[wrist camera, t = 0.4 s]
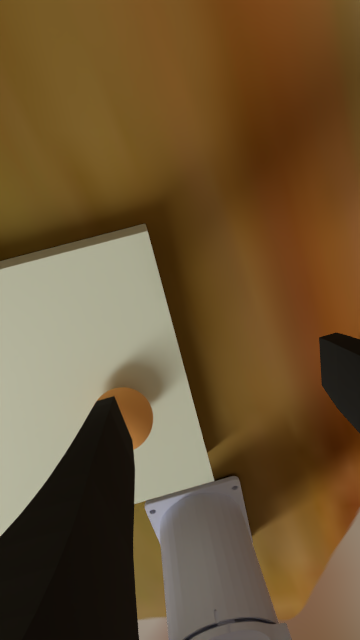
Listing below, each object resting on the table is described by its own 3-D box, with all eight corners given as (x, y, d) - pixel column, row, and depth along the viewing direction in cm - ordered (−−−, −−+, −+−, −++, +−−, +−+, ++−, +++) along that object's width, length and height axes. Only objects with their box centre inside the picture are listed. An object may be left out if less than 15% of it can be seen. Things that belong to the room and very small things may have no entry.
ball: (157, 413, 20) (162, 457, 17) (103, 428, 20) (99, 475, 17) (142, 368, 18) (144, 407, 15) (84, 384, 18) (75, 427, 15)
